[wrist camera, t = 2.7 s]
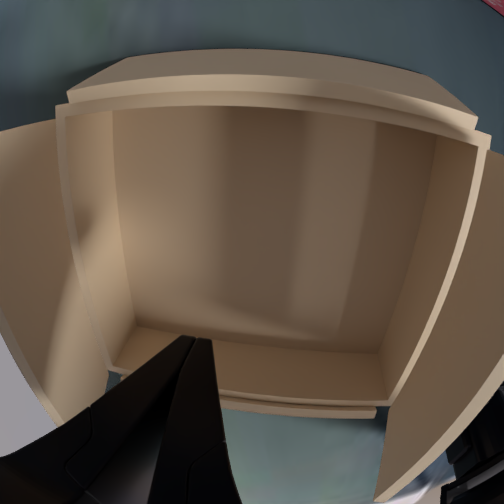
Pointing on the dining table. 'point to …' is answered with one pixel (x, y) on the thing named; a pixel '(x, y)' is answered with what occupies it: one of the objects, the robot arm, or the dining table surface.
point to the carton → (269, 218)
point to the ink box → (496, 5)
